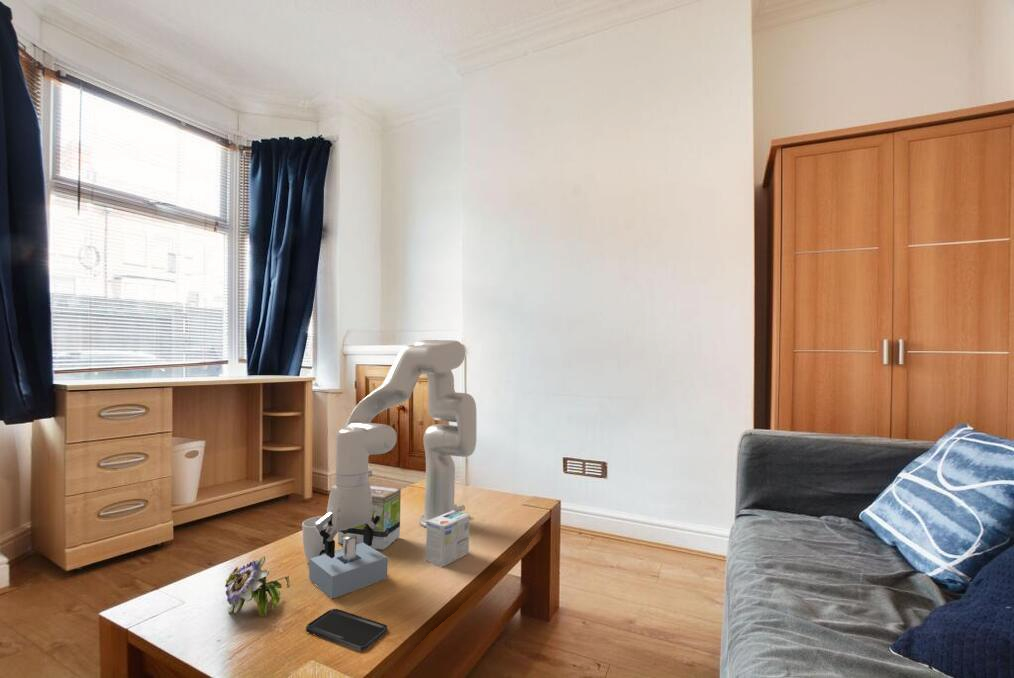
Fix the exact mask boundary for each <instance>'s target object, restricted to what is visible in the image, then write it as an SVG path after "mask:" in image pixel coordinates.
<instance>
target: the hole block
mask: <svg viewBox="0 0 1014 678" xmlns="http://www.w3.org/2000/svg"><path fill="white" fill-rule="evenodd" d="M388 561H389V559H388V556H387V555H385V554H384V553H381V552H380V551H378V549H375V548H372V547H370V546H368V545H366V544H365V543H360V544H356V560H355V561H352V562H349V563H346V564H344V563H343V548H340V549H337V550H335V556H334V558H330V557H329V556H327V555H326V554H324V555H320V556H317V557H314V558H311V559H310V563H309V568H308V569H309V570H308V571H309V573H308V577H309V578H308V580H309V579H310V580H311V581H312V582H313V583H314V584H313V583H312V582H311V581H310V580H309V581H310V582H311V583H312V584H313V585H315V584H316V585H317V586H318V587H319V588H320V589H321V590H320V589H319V588H318V587H317V586H316V585H315V586H316V587H317V588H318V589H319V590H320V591H321V592H323V593H324V592H325V593H326V594H327V595H328V596H329V597H328V596H327V595H326V594H325V593H324V594H325V595H326V596H327V597H328V598H329V599H331V600H334V599H336V598H338V597H341V596H344V595H346V594H348V593H351V592H354V591H357V590H359V589H363V588H366V587H367V586H369V585H373V584H375V583H378V582H380V581H381V582H382V581H383V580H386V579H388V565H389V564H388ZM333 598H334V599H333Z"/></svg>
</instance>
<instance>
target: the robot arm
mask: <svg viewBox="0 0 1014 678" xmlns="http://www.w3.org/2000/svg"><path fill="white" fill-rule="evenodd" d="M465 356H466V350H465V347H464V345H463V344H462V343H461V342H460V341H458V340H453V339H452V340H451V339H450V340H447V339H445V340H444V339H443V340H441V339H424V340H423V339H422V340H419V341H417V342H415V343H414V344H407V345H405V346H403V347H401V348H400V349H399V351H398V352H397V354H396V356H395V358H394V360H393V363H392V364H391V366H390V368H389V370H388V372H387V374H386V375H385V378H384V380H383V382H382V383H381V385H380V386H379V387H378V388H376V389H375V390H373V391H372V392H371V393H369V394H368V395H367V396H366V397H364V398H362V399H361V400H360V401H359V403H357V404H356V405H355V407H354V408H353V410H352V411H351V413H350V415H349V417H348V419H347V421H346V423H345V426H344V427H343V428H341V429H340V430H339V431H337V434H336V454H335V457H336V458H335V478H334V479H335V480H334V481H335V482H334V485H332V486H331V488H330V491H329V497H328V501H327V507H326V514H325V515H323V516H324V517H322V518H321V519H320V520H319V521H317V522H316V523H315V524H314V527H315V528H316V530H317V532H318V534H319V535H321V536H322V537H323V538H324V539H325V554H326V555H327V556H329V557H330V558H334V556H335V551H336V549H335V548H336V541H335V540H334V538H335V537H336V535H338V531H341V530H345V529H349V528H353V527H356V526H360V525H363V524H365V525H366V526H365V527H364V532H363V543H365V544H366V545H368V546H372V540H373V529H374V528H375V527H376V526H375V525H376V524H377V522H378V521H379V520H380V516H381V514H382V512H383V508H382V507H379V506H377V505H374V504H372V493H371V487H370V486H371V484H370V482H369V477H372V476H373V472H372V470H369V456H371V455H373V456H374V455H382V454H386V453H388V452H390V451H391V450H392V449H393V448H394V447H395V446H396V444H397V440H398V436H397V432H396V430H395V429H394V428H393V427H392V426H390V425H388V424H384V423H375V422H372V420H374V418H375V417H376V416H377V415H379V414H380V413H382V412H383V411H385V410H388V409H390V408H393V407H396V406H399V405H400V404H403V403H405V402H407V401H408V400H409V399H410V398H411V396H412V394H413V392H414V389H415V387H416V384H417V382H418V381H419V379H420V377H421V375H426V377H427V408H428V409H427V411H428V415H429V417H430V418H431V419H433V420H435V421H440V422H448V423H449V422H450V423H456V424H457V425H453V424H443V423H437V424H432V425H430V426H428V427H427V428H426V430H425V432H424V434H423V437H422V438H423V448H424V453H425V484H424V485H425V488H424V514H423V515H422V516H420V517H419V524H420V525H421V526H423V527H425V528H427V520H430V519H433V518H435V517H438V516H440V515H443V514H445V513H447V512H450V511H452V510H454V511H457V512H463V511H465V509H466V505H464V504H461V505H457V504H455V485H456V484H455V483H456V465H455V463H454V462H455V461H454V460H453V457H461V458H467V457H470V456H472V455H473V454H474V453H475V450H476V447H477V405H476V404H477V403H476V401H475V399H474V397H473V396H472V395H471V394H469V393H466V392H456V391H455V378H454V377H455V375H454V374H453V371H452V370H454V369H457V368H459V367H461V365H462V364H463V362H464V360H465ZM452 456H453V457H452ZM372 510H374V511H375V514H374V515H373V516H372ZM325 524H327V526H329V527H328V529H327V530H326V531H324V528H323V526H324V525H325Z"/></svg>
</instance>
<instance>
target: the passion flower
mask: <svg viewBox="0 0 1014 678" xmlns="http://www.w3.org/2000/svg"><path fill="white" fill-rule="evenodd" d="M265 561H266V556H265V555H264V556H261V557H260V558H259V560H258V559H256V560H252V561H250V562H249V563H246V566H245V565H243V566H242V567H238V566H236V567H235V568H234V569H233V571H231V572H230V574H229V576H228V577H227V578H226V579H225V585H224V587H225V588H226V591H225V595H226V596H227V599H226V601H227V603H228V604H229V605H231V607H230V610H228V614H232V613H234V614H237V613H239V612H240V611H241V609H242V608H243V606H244V605H245V602H247V603H248V602H250V601H251V600H252V599H253V600H254V601H255V603H257V609H258V614H259V616H261V617H264V618H266V617H267V611H268V607H269V598H268V595H269V597H270V601H271V605H272V611H274V610H275V609H276V608H277V606H278V604H279V602H280V599H281V591H280V589H281V588H282V587H283V585H282V583H280V580H283V579H285V580H286V587H287V588H290V587H291V583H290V579H289V577H290V575H288V576H284V577H280V578H278V579H275V580H271V581H268V582H267V576H269V573H270V570H269V569H262V567H263V565H264V564H265ZM267 593H268V594H267Z"/></svg>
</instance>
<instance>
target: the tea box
mask: <svg viewBox="0 0 1014 678" xmlns="http://www.w3.org/2000/svg"><path fill="white" fill-rule="evenodd" d="M370 487H371V493H372V504H374V505H377V506H379V507H382V508H383V512H382V514H381V516H380V520H379V521H378V522H377V524H376V525H375V526H376V527H375V528H374V529H373V540H372V546H370V547H372V548H373V549H375V550H381V551H383V550H385V549H386V548H388V547H389V546H390V545H392V544H393V543H394V542H396V541H397V540H398V539H400V535H401V534H400V533H401V531H400V530H401V498H402V497H401V496H402V495H401V493H402V492H401V491H402V490H401V488H400V487H399V488H398V487H388V486H378V485H370ZM374 514H375V511H374V510H372V516H373V515H374ZM365 526H366V525H365V524H363V525H360V526H356V527H353V528H349V529H345V530H341V531H338V532H337V544H339V545H340V544H341V545H343V539H344V537H345V536H347V535H356V536H357V537H356V544H360V543H363V532H364V527H365ZM396 539H397V540H396ZM395 540H396V541H395ZM392 542H393V543H392ZM391 543H392V544H391Z"/></svg>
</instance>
